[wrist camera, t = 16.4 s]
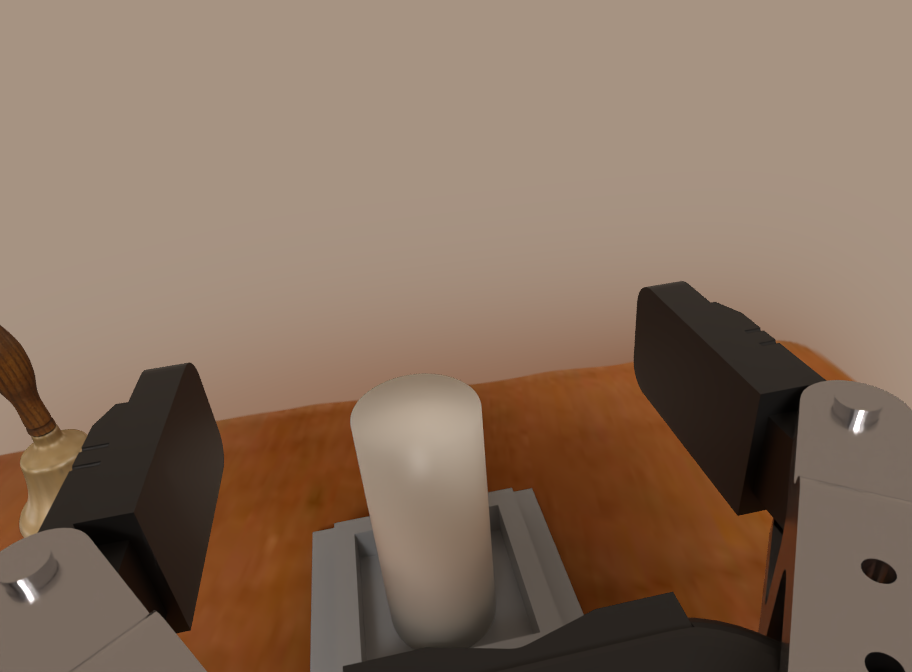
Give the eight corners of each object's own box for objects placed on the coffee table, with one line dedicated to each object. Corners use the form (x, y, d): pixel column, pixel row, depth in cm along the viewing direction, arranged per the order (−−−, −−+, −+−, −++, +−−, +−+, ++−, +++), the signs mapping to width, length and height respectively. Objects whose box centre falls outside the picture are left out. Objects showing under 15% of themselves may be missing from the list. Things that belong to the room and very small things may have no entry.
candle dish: (311, 786, 29) (297, 752, 28) (315, 540, 42) (305, 508, 41) (618, 710, 31) (621, 675, 30) (532, 496, 44) (531, 464, 42)
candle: (394, 665, 33) (351, 466, 26) (387, 571, 38) (349, 384, 31) (506, 642, 34) (493, 442, 27) (484, 553, 39) (468, 365, 32)
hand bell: (122, 534, 44) (23, 340, 36) (-1, 555, 44) (-130, 362, 36) (154, 457, 52) (77, 280, 43) (48, 474, 51) (-50, 297, 43)
